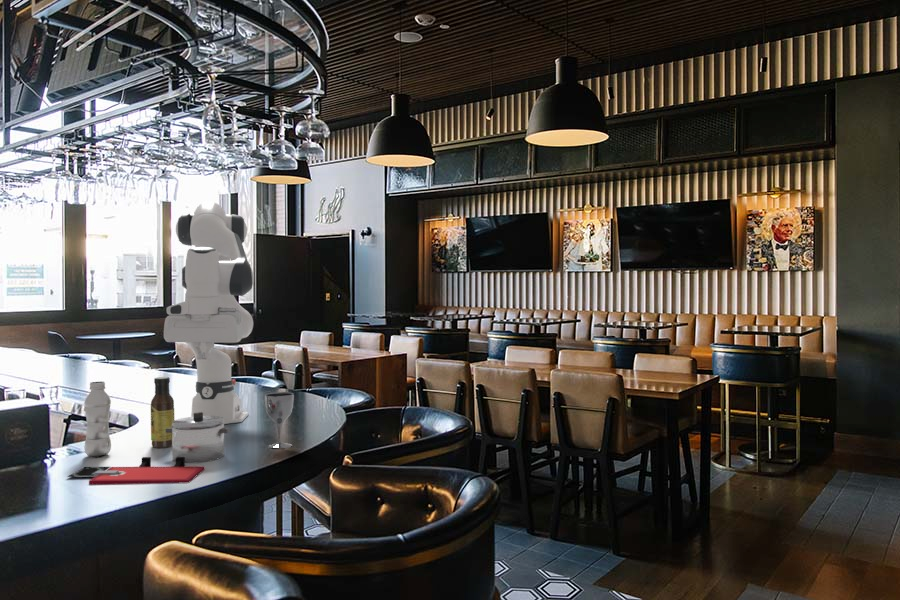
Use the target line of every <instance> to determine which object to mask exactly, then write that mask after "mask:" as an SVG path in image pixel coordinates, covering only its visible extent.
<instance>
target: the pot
mask: <svg viewBox="0 0 900 600" xmlns="http://www.w3.org/2000/svg"><path fill="white" fill-rule="evenodd" d="M231 431H232V428H231V427H229V426H227V427H226V426H225V424H224V423H223V424H221V425H219V426H215V427H209V428H201V429H178V428H174V427H169V428H167V429H166V433H172V446H171V447H172V448H171V449H172V450H171V451H172V455H171V457H172V461H173V462H175V463H176V458H177V457H185V464H186V463H187V464H194V463H193V462H198V463H205V462H204V461H206V462H211V461H210V460H212V461H216V460H218V459H217V458H219V459H221V458H223V457H224V456H225V434H228V433H231ZM223 455H224V456H223ZM222 456H223V457H222ZM220 457H221V458H220ZM215 459H216V460H215Z"/></svg>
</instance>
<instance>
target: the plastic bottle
mask: <svg viewBox="0 0 900 600" xmlns="http://www.w3.org/2000/svg"><path fill="white" fill-rule="evenodd" d="M105 390H106V382H105V381H91V382H89V393H88V394H87V396H86V398H85V400H84V411H85V416H86V418H85V419H86V435H85V436H86V437H85V441H84V453H85V454H86V456H88V457H102V456H105V455H108V454H109V453H110V452H111V449H112V442H111V441H112V440H111V437H110V427H109V425H110V423H109V420H110V410H111V403H112V401H111V397H110V396H109V395H108V393H107V392H106V391H105Z"/></svg>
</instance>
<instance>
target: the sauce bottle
mask: <svg viewBox="0 0 900 600" xmlns="http://www.w3.org/2000/svg"><path fill="white" fill-rule="evenodd" d="M170 379H171V378H170V376H158V377H154V380H153V381H154V382H153V383H154V396H153V397H152V399H151V402H150V440H151V446H152V447H153V448H156V449H157V448H158V449H165V447H166V448H170V447H172V433H166V429H167V428H169V427H172V422H173V421H174V420H175V404H174V403H175V401H174V398H173V396H172V395H171V394H170V382H171V381H170Z"/></svg>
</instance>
